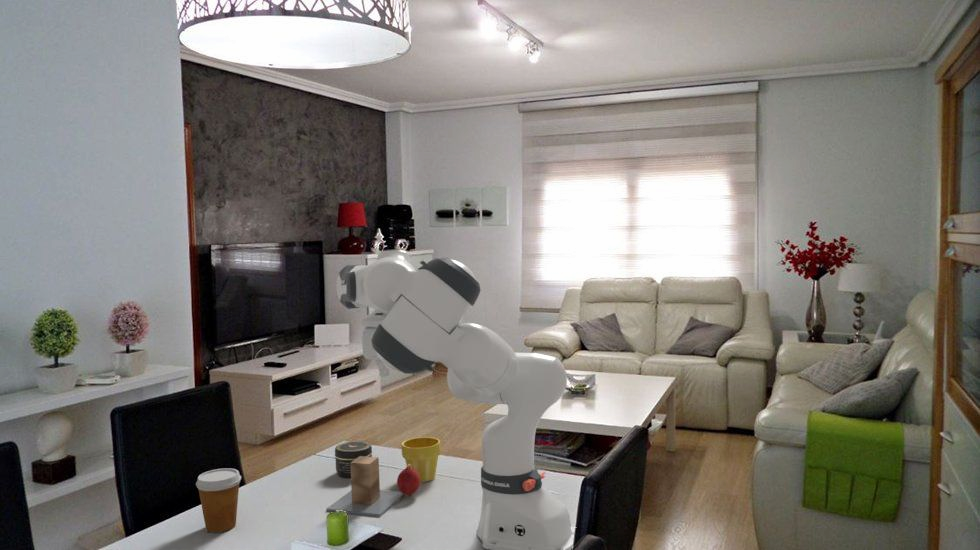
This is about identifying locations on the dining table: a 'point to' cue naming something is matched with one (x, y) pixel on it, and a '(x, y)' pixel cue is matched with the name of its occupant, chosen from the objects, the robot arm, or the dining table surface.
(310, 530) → the dining table surface
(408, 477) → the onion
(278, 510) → the dining table surface
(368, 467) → the walnut block
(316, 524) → the dining table surface
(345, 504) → the slate coaster
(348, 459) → the jar
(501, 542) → the robot arm
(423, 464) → the plant pot
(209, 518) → the disposable coffee cup
